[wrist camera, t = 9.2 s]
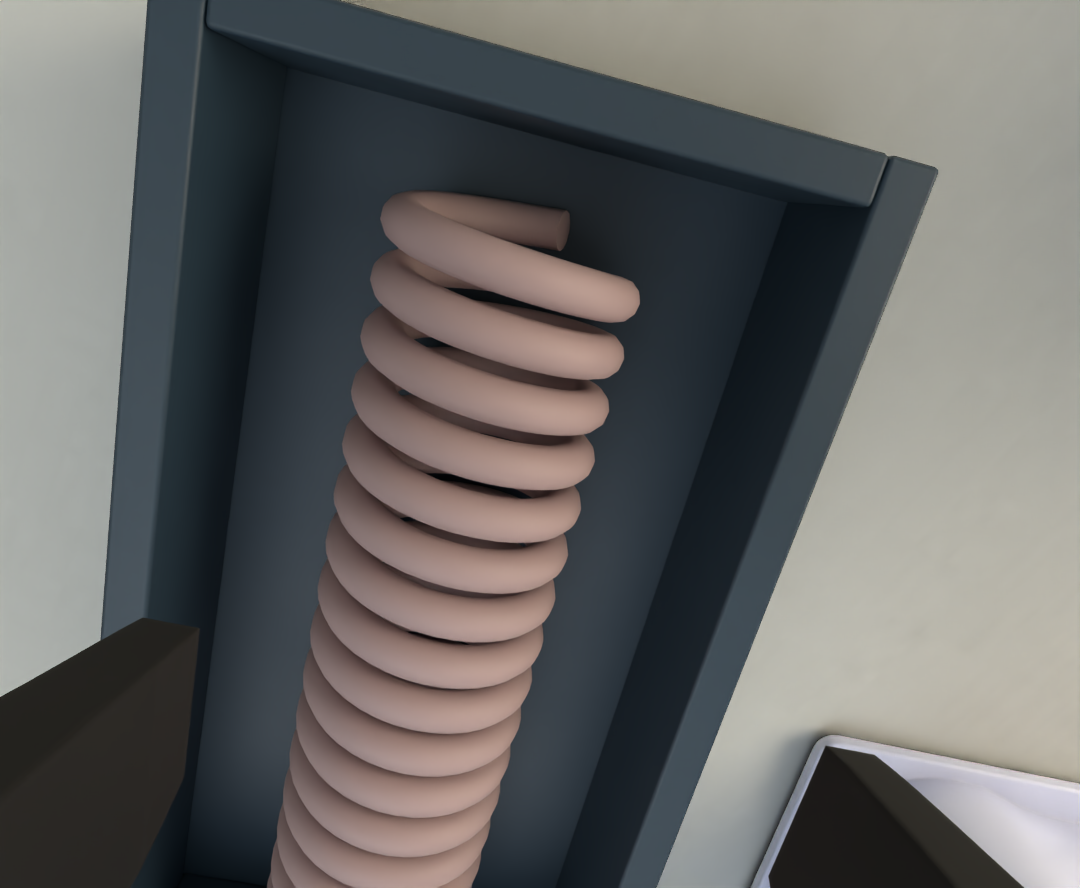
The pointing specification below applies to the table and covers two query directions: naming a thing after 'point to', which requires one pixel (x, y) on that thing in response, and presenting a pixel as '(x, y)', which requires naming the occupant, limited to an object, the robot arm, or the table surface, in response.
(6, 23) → the table surface
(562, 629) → the bin
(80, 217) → the table surface
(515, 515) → the coil
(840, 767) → the robot arm
